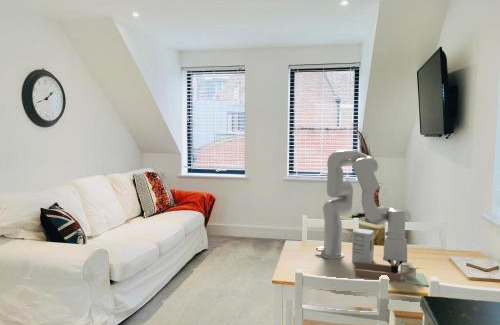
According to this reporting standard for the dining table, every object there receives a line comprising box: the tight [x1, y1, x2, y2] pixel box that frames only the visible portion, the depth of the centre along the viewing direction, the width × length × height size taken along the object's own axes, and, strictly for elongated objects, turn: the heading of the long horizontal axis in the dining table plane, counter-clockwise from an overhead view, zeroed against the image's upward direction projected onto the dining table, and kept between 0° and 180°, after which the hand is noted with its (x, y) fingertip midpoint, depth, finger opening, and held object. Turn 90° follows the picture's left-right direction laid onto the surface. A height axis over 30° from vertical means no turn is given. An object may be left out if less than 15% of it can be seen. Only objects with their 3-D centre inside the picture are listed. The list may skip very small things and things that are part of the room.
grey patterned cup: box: [399, 262, 417, 281], centre depth 167 cm, size 6×6×6 cm
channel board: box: [354, 262, 430, 287], centre depth 169 cm, size 32×14×4 cm, turn 74°
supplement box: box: [351, 227, 375, 263], centre depth 189 cm, size 10×9×17 cm
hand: (394, 273), depth 169 cm, fingers closed
